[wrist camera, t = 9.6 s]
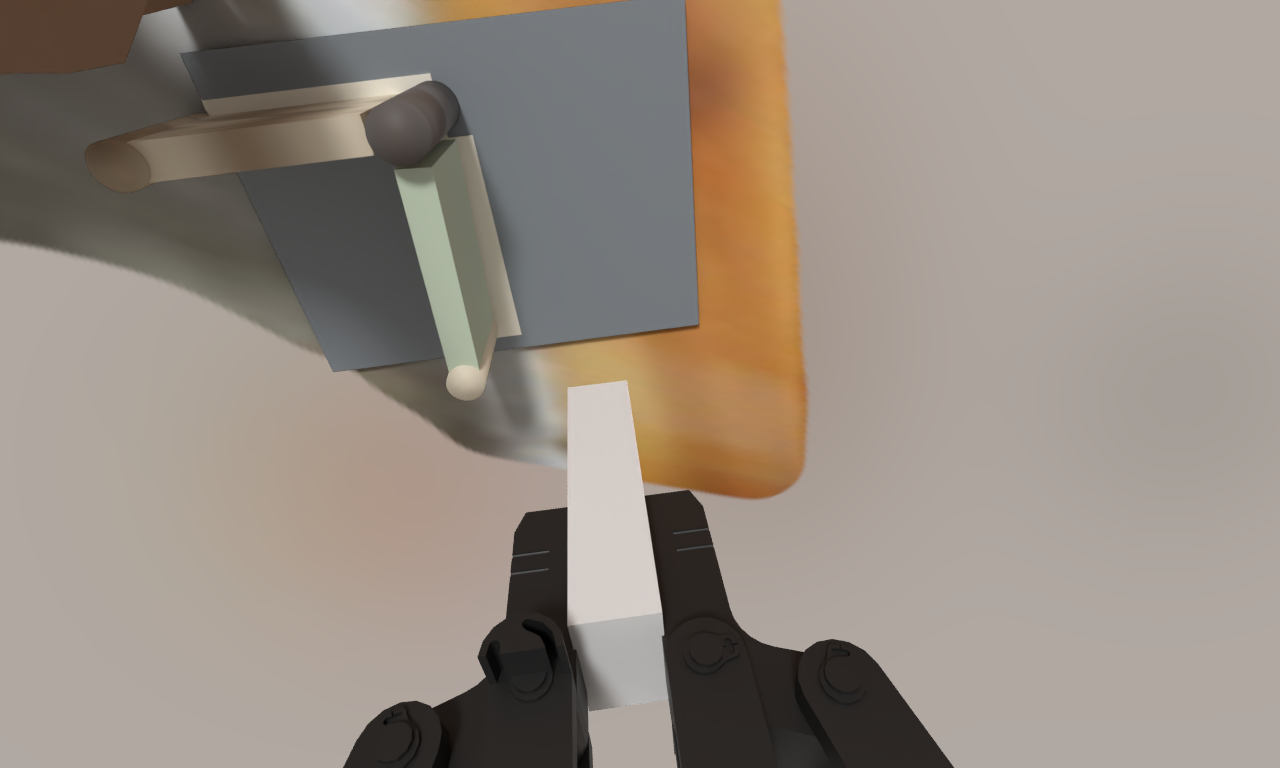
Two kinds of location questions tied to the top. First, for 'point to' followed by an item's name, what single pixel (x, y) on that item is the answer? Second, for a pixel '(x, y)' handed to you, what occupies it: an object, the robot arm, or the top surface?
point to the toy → (70, 33)
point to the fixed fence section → (278, 138)
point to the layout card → (489, 175)
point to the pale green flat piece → (450, 265)
